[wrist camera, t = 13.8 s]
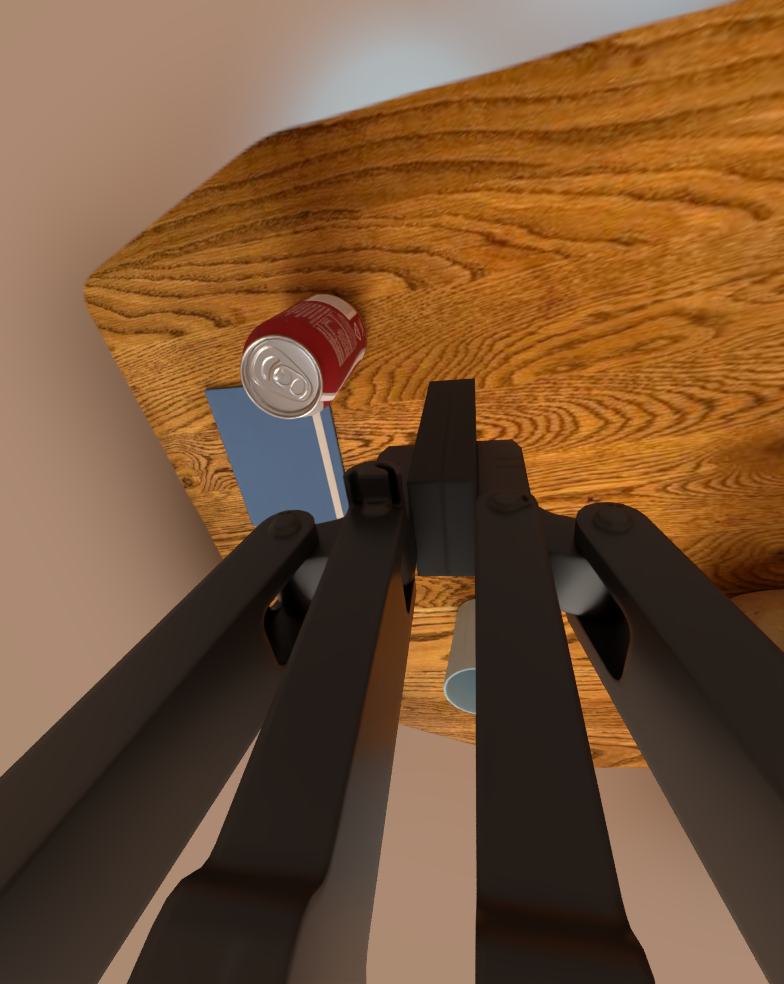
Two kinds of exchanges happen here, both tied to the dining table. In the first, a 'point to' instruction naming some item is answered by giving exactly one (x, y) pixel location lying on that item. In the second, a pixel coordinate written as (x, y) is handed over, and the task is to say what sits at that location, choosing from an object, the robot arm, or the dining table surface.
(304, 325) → the soda can
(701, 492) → the dining table surface
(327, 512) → the cloth
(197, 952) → the robot arm
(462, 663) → the cup
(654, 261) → the dining table surface
